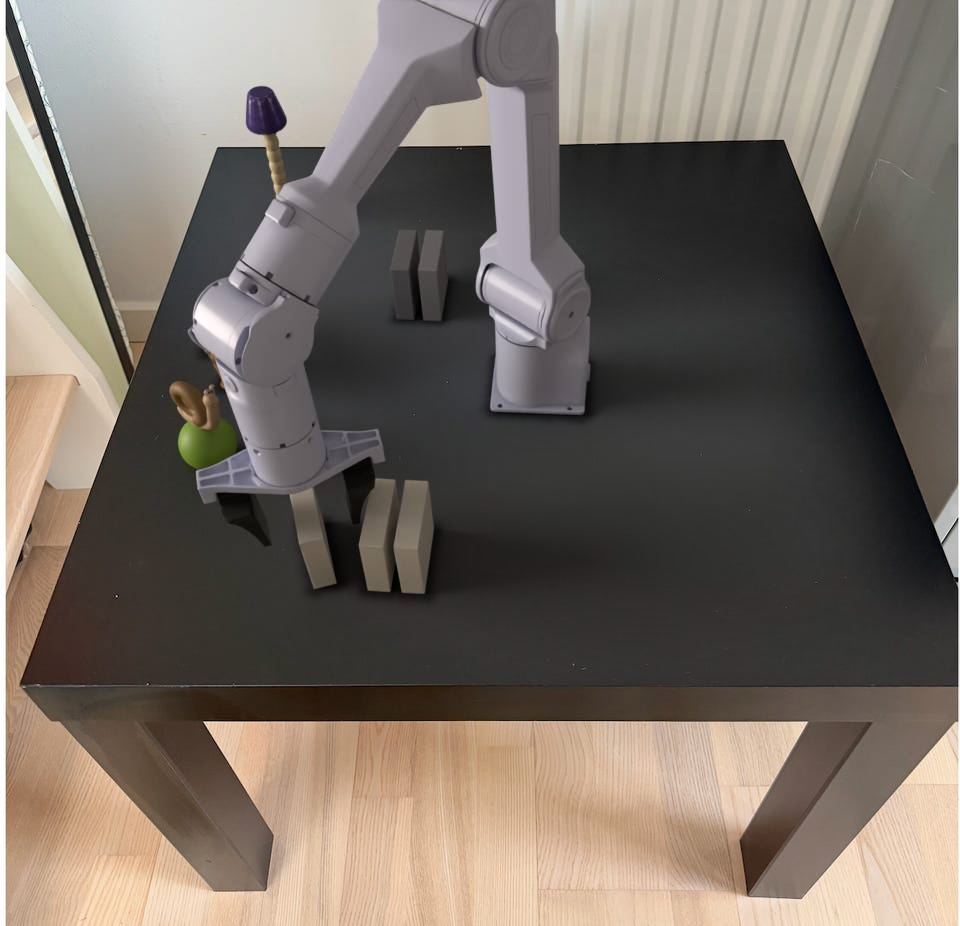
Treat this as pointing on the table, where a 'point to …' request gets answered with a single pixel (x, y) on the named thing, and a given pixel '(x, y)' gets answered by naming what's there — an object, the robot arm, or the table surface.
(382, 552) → the beige square block
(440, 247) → the gray square slab
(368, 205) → the table surface
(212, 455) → the snail figurine
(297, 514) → the beige square slab
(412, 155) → the table surface
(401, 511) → the beige square block
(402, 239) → the grey square slab
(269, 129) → the toy lamp
